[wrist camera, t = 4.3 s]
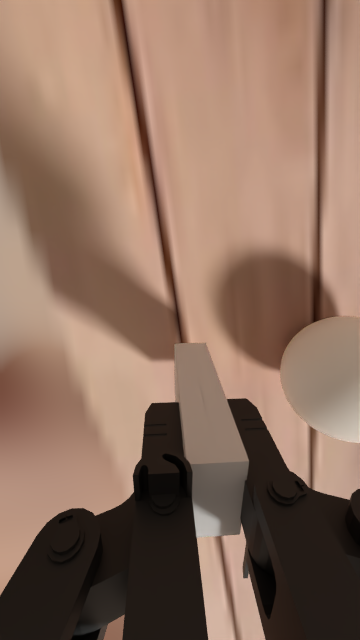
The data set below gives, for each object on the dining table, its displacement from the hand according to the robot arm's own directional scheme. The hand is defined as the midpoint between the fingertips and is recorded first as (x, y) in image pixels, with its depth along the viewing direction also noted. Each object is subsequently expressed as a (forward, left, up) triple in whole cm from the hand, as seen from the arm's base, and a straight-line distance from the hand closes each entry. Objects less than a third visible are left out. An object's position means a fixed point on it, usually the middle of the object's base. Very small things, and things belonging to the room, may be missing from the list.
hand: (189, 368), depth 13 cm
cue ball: (-7, 0, +1) cm, 7 cm away
